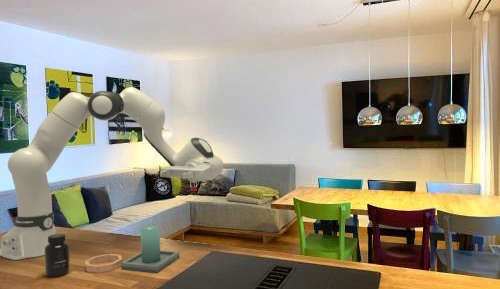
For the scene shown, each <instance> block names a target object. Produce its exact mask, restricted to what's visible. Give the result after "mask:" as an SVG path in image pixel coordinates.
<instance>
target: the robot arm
mask: <svg viewBox="0 0 500 289" xmlns="http://www.w3.org/2000/svg"><path fill="white" fill-rule="evenodd" d="M119 114H124V115H126V116H128V117H129V118H131V119H132V120H133V121H135V122H136V123H137V124H138V125H139V126H140V127H141V129H142V131H143V136H144V138H145V140H146V141H147V142H148V143H149V145H151V147H152V148H153V149H154V150H155V151H156V152H157V153H158V155H160V157H162V158H163V160H165V161H166V162H167V164H168V165H169V166H163V167H160V173H159V176H160V178H171V179H172V178H173V179H183V180H184V179H186V180H187V181H188V182H190V183H197V182H199V183H200V182H202V181H204V182H205V181H213V180H214V179H215V178H216V177H218V176H219V175H221V173H222V172H223V170H224V162H223V159H222V158H220V157H219V156H217V155H215V154H214V152H213V149H212V147H211V145H210V144H209V142H208V141H207V140H205V139H203V138H201V137H192V138H191V139H189V141H188V142H187V143H186V144H185V145H184V146H183V147H182V148H181V150H179V152H176V151H175V150H174V149H173V148H172V147H171V146H170V145H169V144H168V142H166V141H165V139H164V138H163V129H164V125H165V122H166V113H165V110H164V108H163V107H162V106H161V104H159V103H158V102H157V101H155V100H154V99H153V98H152V97H150V95H147V94H146V93H145V92H143V91H142V90H139V89H138V88H136V87H133V86H130V87H126V88H124V89H123V90H122V91H121V92H120V93H118V92H111V91H107V90H99V91H95V92H94V93H92V94H91V95H90V96H88V97H87V96H85V95H84V94H82V93H80V92H75V91H71V92H69V93H67V94H66V95H65V96H64V97H62V99H60V101H59V102H58V103H57V104H55V106H54V107H53V108H52V110H51V111H50V112H49V113H48V114H47V116H46V117H45V118H44V119H43V121H42V123H41V124H40V125H39V126H38V128H37V130H36V132H35V135H34V137H33V138H32V140H31V141H30V143H29V145H28V146H27V147H23V148H20V149H17V150H16V151H15V152H13V153H12V154H11V155H10V157H9V158H8V161H7V168H8V169H7V170H8V171H9V172H10V174H11V179H12V182H13V185H14V189H15V193H16V203H17V216H15V217H13V219H12V222H14V226H13V227H11V229H9V231H7V232H6V233H5V234H4V235H3V236H2V237H1V241H0V257H1V256H2V258H5V259H8V260H9V259H10V260H13V261H17V260H23V259H27V258H36V257H41V256H45V247H46V246H47V245H48V244H49V243H48V236H50V235H54V234H57V233H56V232H57V231H56V227H55V224H54V223H55V222H54V221H55V214H54V211H53V201H52V200H53V199H52V190H51V188H50V185H49V179H48V172H49V171H50V170H51V169H52V167H53V166H54V164H56V161H57V160H58V158H59V157H60V155H61V154H62V152H63V150H64V149H65V147H66V145H67V144H68V143H69V142H70V140H71V139H72V137H73V136H74V135H75V133H76V132H77V131H78V130H79V128H80V127H81V126H82V125H83V123H84V122H85V120H87V119H88V118H90V117H93V118H95V119H97V120H99V121H104V122H105V121H110V120H113V119H114V118H116V117H117V116H118V115H119Z"/></svg>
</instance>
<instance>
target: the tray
mask: <svg viewBox="0 0 500 289" xmlns="http://www.w3.org/2000/svg"><path fill="white" fill-rule="evenodd" d="M178 259H180V252H179V251H173V250H163V249H160V261H158V262H155V263H143V262H142V254H141V251H140V252H139V253H136V254H135V255H133V256H131V257H129V258H128V259H126V260H124V261H123V262H122V263H121V266H120V267H121V270H126V271H135V272H144V273H145V272H146V273H154V274H158V273H159V272H160V271H162V270H164V269H165V268H166V267H168V266H170V264H172V263H173V262H175V261H176V260H178Z"/></svg>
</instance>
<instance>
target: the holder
mask: <svg viewBox="0 0 500 289" xmlns="http://www.w3.org/2000/svg"><path fill="white" fill-rule="evenodd" d="M108 261H109V263H105V264H98V263H104V262H108ZM84 262H85V264H84V265H85V271H86V272H87V273H96V274H99V273H105V272H111V271H115V270H116V269H118V268H120V267H121V263H122V262H124V261H123V257H122V255H121V254H115V253H107V254H105V253H104V254H100V255H95V256H92V257H90V258H88V259H86V260H85V261H84Z"/></svg>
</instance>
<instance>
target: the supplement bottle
mask: <svg viewBox="0 0 500 289" xmlns="http://www.w3.org/2000/svg"><path fill="white" fill-rule="evenodd" d="M48 243H49V244H48V245H47V246H46V247H45V255H44V270H45V272H44V273H45V276H46V277H48V278H57V277H63V276H65V275H67V274H68V273H70V271H71V270H70V269H71V268H70V267H71V266H70V265H71V263H70V260H71V259H70V245H69V243H68V242H66V234H65V233H56V234H54V235H50V236H48Z"/></svg>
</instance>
